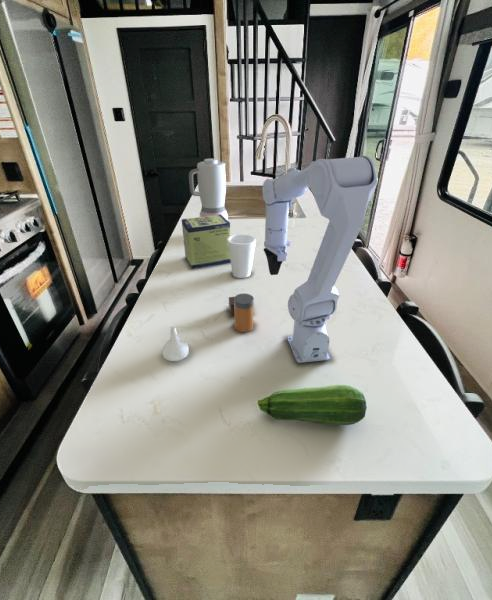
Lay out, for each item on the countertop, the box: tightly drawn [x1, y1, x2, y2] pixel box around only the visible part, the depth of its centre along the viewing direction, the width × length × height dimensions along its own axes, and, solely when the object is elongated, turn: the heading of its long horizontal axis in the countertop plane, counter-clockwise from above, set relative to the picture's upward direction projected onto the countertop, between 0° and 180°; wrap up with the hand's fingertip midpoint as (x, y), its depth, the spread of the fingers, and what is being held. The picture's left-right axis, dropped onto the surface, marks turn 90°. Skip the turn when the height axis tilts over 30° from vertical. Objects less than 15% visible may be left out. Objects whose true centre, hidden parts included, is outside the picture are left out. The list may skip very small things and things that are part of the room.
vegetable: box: [257, 384, 368, 426], centre depth 60 cm, size 7×7×20 cm
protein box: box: [181, 214, 231, 270], centre depth 118 cm, size 10×16×16 cm
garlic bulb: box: [161, 325, 190, 362], centre depth 75 cm, size 6×6×8 cm
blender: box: [188, 158, 229, 221], centre depth 133 cm, size 16×12×32 cm
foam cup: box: [227, 233, 257, 279], centre depth 109 cm, size 10×9×13 cm
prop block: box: [228, 296, 235, 317], centre depth 91 cm, size 4×6×4 cm, turn 98°
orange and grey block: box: [234, 293, 255, 333], centre depth 84 cm, size 9×5×10 cm
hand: (273, 273), depth 90 cm, fingers closed
